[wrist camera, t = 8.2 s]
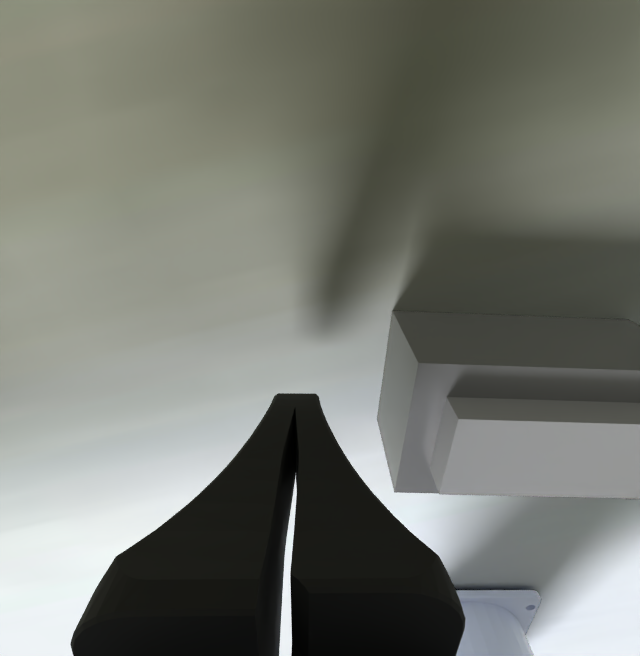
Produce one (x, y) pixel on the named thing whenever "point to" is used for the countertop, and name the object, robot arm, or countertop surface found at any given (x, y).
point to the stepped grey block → (512, 405)
